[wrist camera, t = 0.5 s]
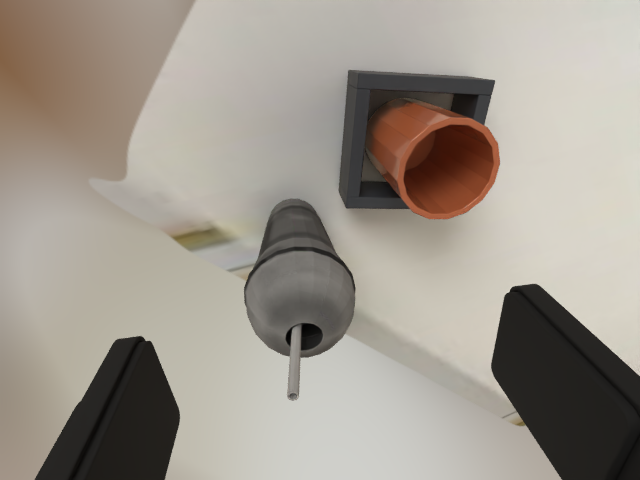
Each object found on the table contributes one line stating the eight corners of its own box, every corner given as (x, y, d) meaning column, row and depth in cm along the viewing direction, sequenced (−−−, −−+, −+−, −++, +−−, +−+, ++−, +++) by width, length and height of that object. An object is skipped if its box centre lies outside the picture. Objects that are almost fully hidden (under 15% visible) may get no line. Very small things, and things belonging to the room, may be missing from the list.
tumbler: (368, 95, 29) (407, 115, 21) (443, 99, 30) (512, 120, 21) (360, 172, 32) (391, 219, 24) (428, 174, 33) (484, 219, 24)
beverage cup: (291, 268, 36) (304, 477, 19) (237, 220, 33) (191, 414, 16) (347, 222, 34) (421, 404, 17) (296, 167, 31) (320, 318, 14)
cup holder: (348, 70, 28) (358, 72, 25) (469, 76, 30) (495, 80, 26) (338, 191, 33) (345, 208, 29) (443, 193, 34) (462, 209, 31)
